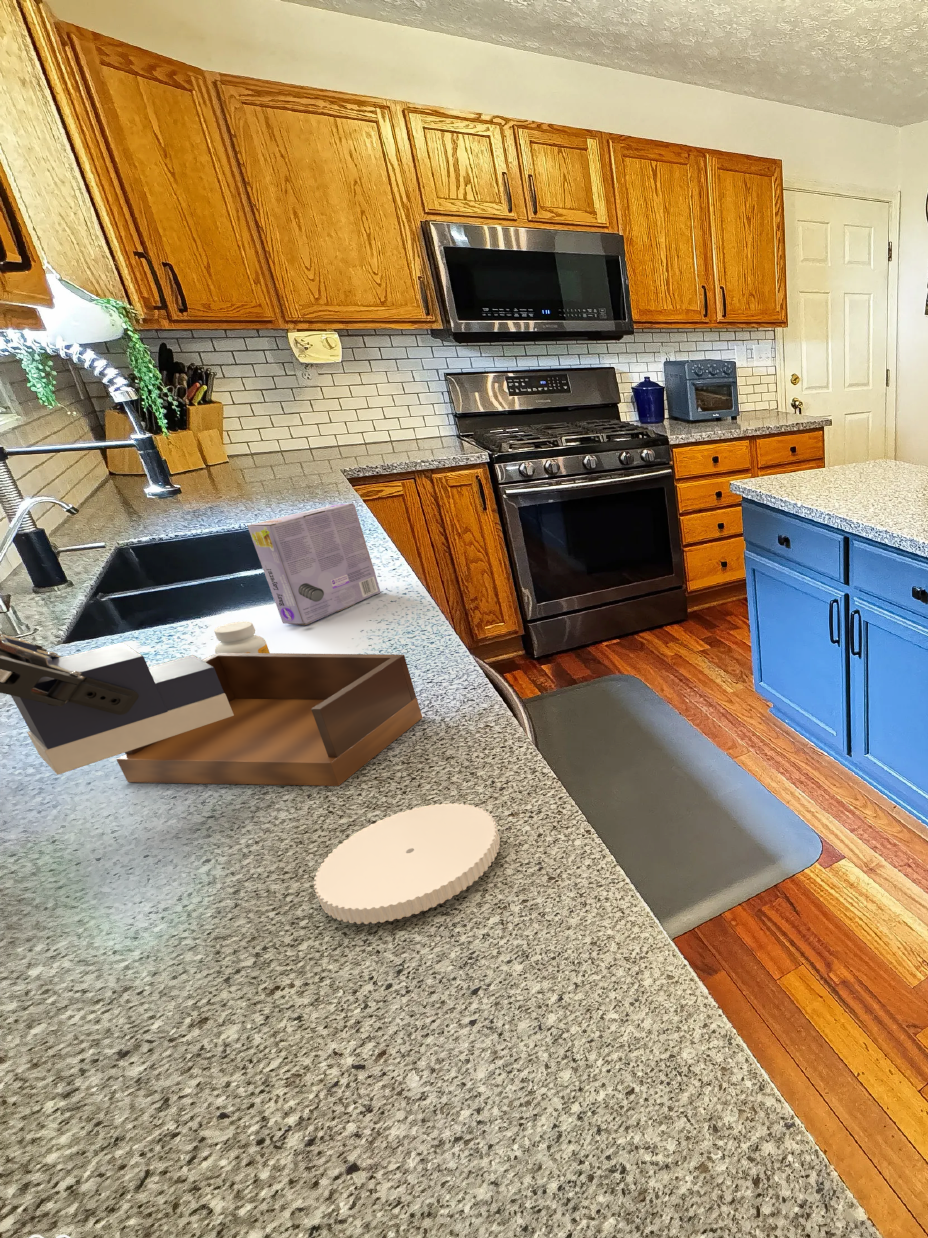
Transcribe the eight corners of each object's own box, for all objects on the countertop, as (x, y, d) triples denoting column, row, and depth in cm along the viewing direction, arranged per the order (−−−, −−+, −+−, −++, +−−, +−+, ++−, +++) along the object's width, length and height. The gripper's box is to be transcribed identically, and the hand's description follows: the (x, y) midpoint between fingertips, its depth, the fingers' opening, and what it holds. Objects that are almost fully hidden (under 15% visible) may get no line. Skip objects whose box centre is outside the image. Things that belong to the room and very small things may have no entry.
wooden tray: (127, 782, 76) (91, 710, 73) (242, 715, 90) (217, 652, 87) (338, 786, 76) (312, 713, 72) (422, 717, 89) (404, 654, 86)
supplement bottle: (248, 702, 94) (221, 636, 90) (223, 695, 95) (197, 631, 92) (290, 685, 98) (267, 622, 94) (266, 679, 100) (242, 617, 96)
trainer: (57, 775, 58) (11, 690, 55) (39, 755, 61) (-5, 673, 57) (234, 715, 67) (203, 639, 64) (211, 700, 70) (181, 627, 67)
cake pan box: (363, 590, 136) (336, 500, 129) (387, 590, 136) (361, 500, 129) (279, 626, 119) (242, 524, 112) (306, 627, 118) (271, 525, 111)
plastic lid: (512, 890, 61) (506, 867, 60) (317, 959, 54) (306, 935, 53) (492, 807, 72) (487, 787, 71) (328, 856, 65) (319, 835, 64)
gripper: (-128, 580, 46) (176, 676, 60) (-156, 548, 53) (122, 640, 67) (-219, 683, 44) (118, 757, 58) (-236, 635, 51) (68, 711, 65)
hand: (119, 694), depth 62 cm, fingers closed on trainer, 5 cm apart
